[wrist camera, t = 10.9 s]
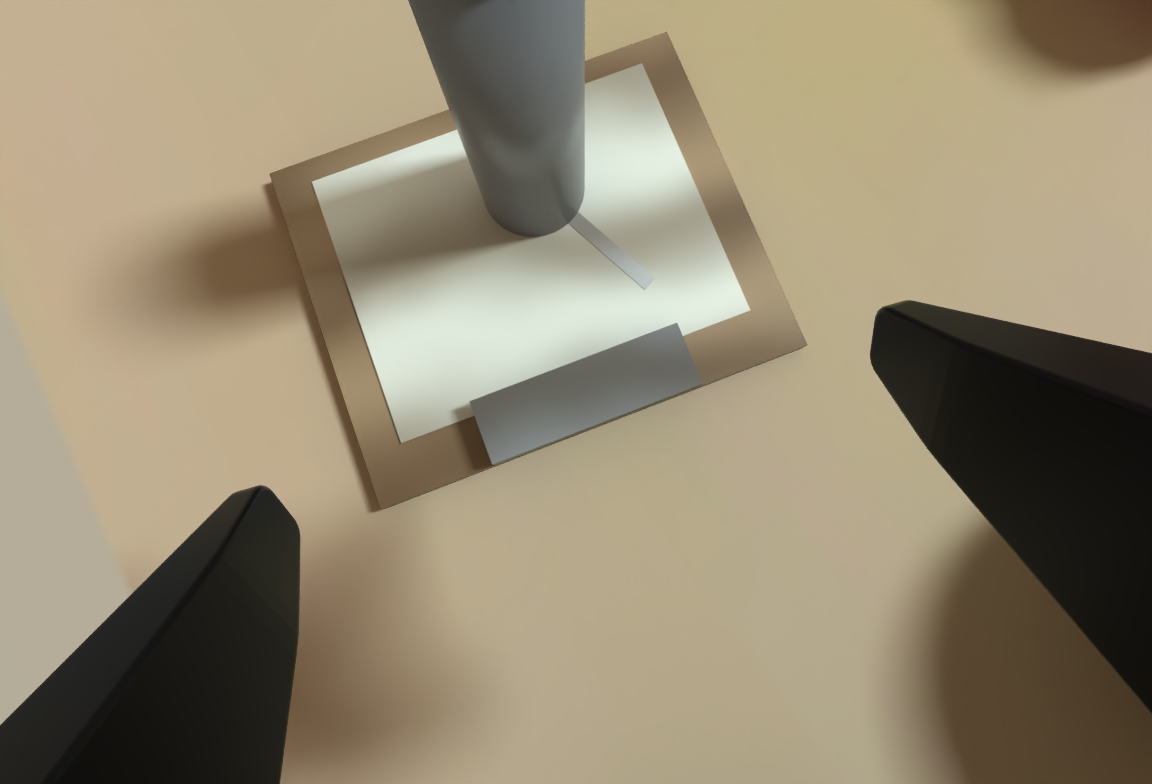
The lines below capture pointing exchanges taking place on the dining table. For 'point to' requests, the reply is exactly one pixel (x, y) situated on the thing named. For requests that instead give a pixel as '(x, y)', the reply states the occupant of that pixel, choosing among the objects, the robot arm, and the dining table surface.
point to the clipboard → (531, 282)
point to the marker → (515, 101)
